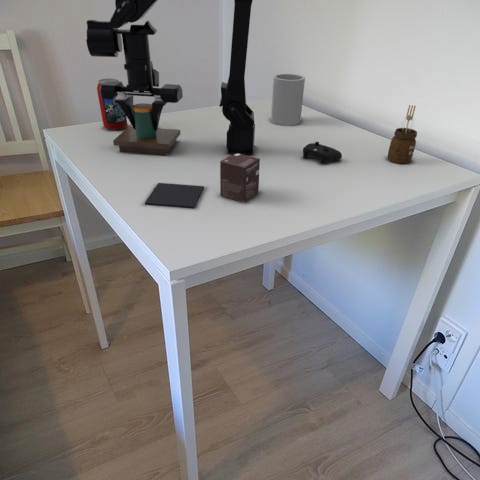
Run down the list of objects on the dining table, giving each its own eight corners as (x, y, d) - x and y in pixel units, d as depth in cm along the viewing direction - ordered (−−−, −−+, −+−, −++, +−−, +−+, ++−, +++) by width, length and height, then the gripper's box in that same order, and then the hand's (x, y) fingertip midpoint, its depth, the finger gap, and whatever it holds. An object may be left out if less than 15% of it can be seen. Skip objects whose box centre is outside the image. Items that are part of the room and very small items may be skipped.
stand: (180, 141, 114) (180, 129, 112) (169, 156, 105) (168, 144, 103) (130, 137, 115) (128, 126, 114) (114, 152, 106) (112, 140, 104)
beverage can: (114, 132, 119) (106, 84, 111) (98, 127, 122) (90, 80, 114) (132, 127, 123) (126, 80, 115) (117, 122, 126) (110, 76, 118)
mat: (203, 188, 91) (203, 186, 91) (194, 208, 84) (193, 206, 83) (158, 184, 92) (158, 182, 92) (144, 204, 85) (144, 202, 84)
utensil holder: (386, 162, 106) (398, 110, 98) (387, 154, 110) (399, 103, 102) (410, 165, 104) (425, 113, 97) (411, 157, 109) (425, 106, 101)
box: (244, 203, 86) (245, 167, 81) (219, 196, 88) (219, 160, 84) (259, 193, 90) (261, 158, 85) (235, 186, 92) (235, 152, 88)
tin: (159, 133, 109) (156, 103, 105) (153, 140, 105) (150, 109, 101) (139, 132, 110) (136, 102, 105) (133, 138, 106) (129, 108, 101)
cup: (268, 117, 134) (271, 73, 126) (296, 116, 135) (301, 73, 127) (273, 125, 127) (276, 80, 119) (303, 125, 128) (308, 80, 120)
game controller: (344, 155, 106) (338, 142, 101) (333, 174, 106) (326, 162, 101) (312, 146, 111) (305, 132, 105) (302, 164, 111) (294, 151, 106)
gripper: (185, 53, 102) (189, 122, 112) (110, 50, 103) (120, 118, 114) (174, 62, 93) (179, 135, 104) (92, 58, 95) (105, 131, 105)
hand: (145, 129), depth 107 cm, fingers closed on tin, 5 cm apart
